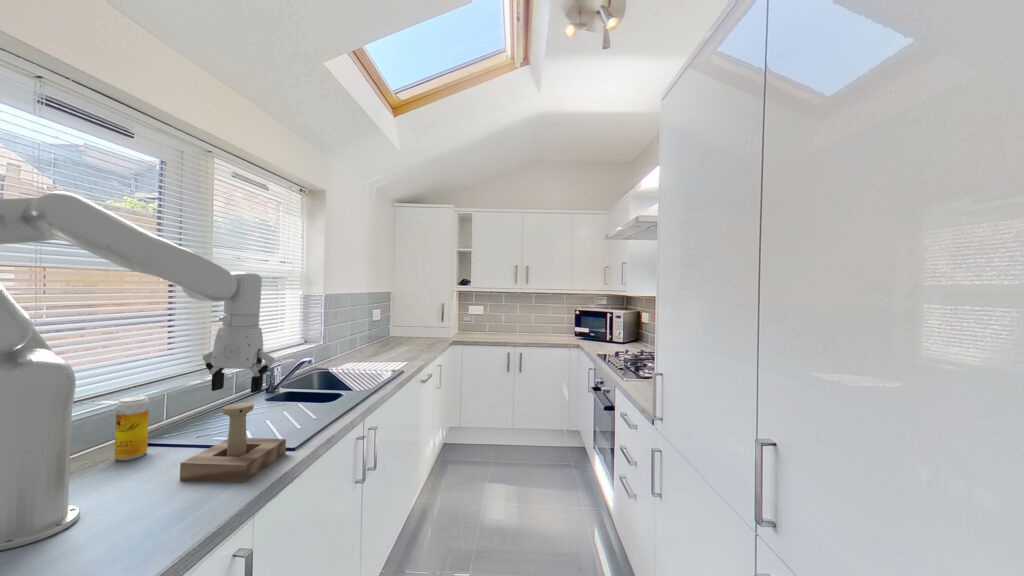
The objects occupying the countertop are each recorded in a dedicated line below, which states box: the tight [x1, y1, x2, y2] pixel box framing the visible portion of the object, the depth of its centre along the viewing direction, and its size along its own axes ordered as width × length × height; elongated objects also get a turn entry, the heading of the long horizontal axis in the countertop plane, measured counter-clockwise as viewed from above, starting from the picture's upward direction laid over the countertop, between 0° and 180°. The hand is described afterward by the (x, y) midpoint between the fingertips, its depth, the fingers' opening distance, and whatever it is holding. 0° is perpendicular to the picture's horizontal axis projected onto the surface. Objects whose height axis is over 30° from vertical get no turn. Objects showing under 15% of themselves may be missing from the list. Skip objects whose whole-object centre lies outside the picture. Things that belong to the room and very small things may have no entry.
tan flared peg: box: [222, 402, 255, 457], centre depth 98 cm, size 5×6×15 cm
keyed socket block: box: [179, 437, 287, 483], centre depth 98 cm, size 16×15×4 cm
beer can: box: [114, 395, 150, 461], centre depth 102 cm, size 6×6×15 cm
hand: (236, 390), depth 98 cm, fingers open, 9 cm apart
